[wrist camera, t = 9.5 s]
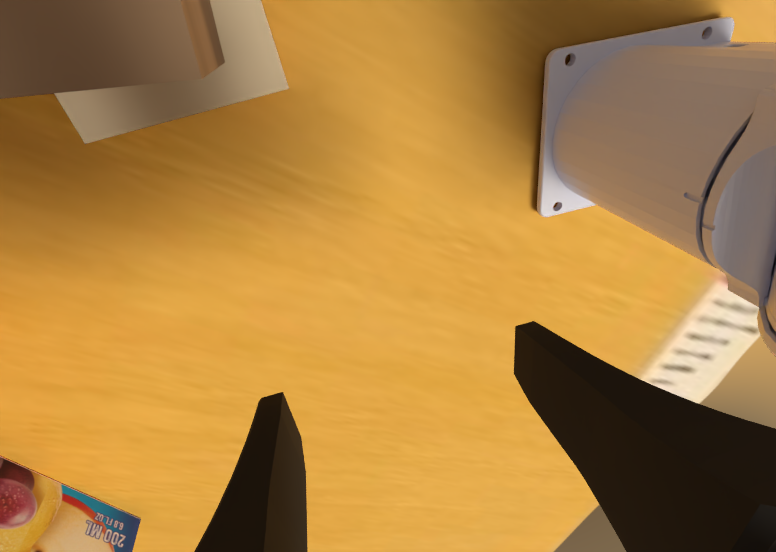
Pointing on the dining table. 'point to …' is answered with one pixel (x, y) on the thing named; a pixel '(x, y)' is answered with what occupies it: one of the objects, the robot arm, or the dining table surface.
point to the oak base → (184, 98)
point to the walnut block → (104, 44)
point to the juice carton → (57, 516)
